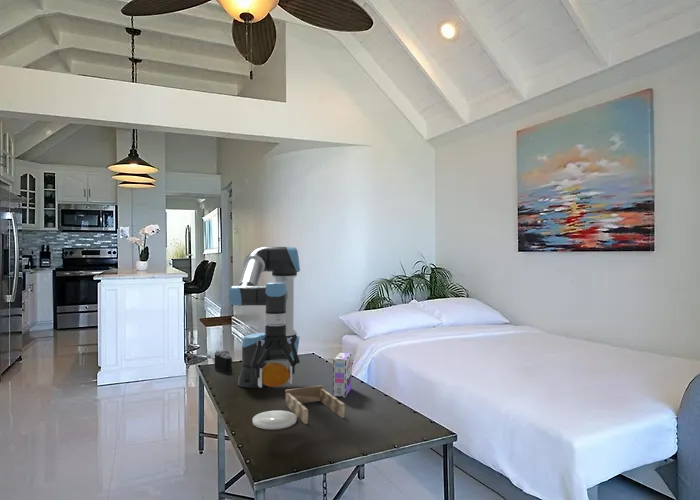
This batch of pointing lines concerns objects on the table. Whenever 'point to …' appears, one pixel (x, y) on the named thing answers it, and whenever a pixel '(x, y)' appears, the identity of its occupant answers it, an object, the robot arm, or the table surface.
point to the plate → (274, 420)
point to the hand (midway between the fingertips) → (275, 384)
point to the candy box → (342, 374)
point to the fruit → (274, 374)
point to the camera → (223, 361)
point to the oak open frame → (310, 395)
